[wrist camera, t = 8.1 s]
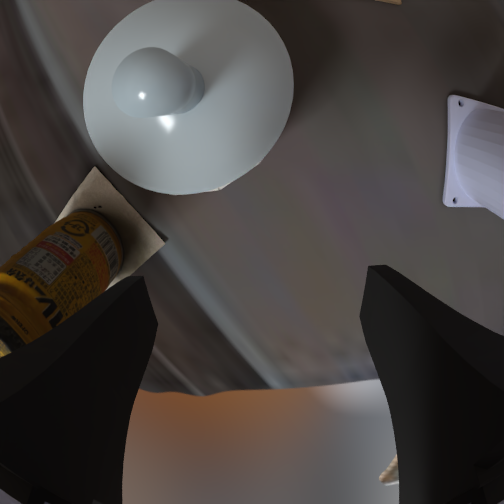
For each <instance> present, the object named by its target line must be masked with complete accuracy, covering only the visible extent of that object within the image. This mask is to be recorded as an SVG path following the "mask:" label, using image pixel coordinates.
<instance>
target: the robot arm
mask: <svg viewBox="0 0 504 504" xmlns="http://www.w3.org/2000/svg"><path fill="white" fill-rule="evenodd" d="M459 101H460V106H459V104H458V102H459ZM454 197H455V201H454V202H453V199H454ZM443 203H444V204H445V205H446V206H448V207H485V208H487V209H489V210H490V211H492V212H493V213H495V214H496V215H498V216H499V217H501V218H502V219H504V109H502V108H499V107H496V106H493V105H490V104H487V103H483V102H480V101H476V100H473V99H469V98H465V97H461V96H457V95H450V96H449V97H448V141H447V160H446V173H445V184H444V193H443ZM360 320H361V324H362V329H363V333H364V336H365V340H366V344H367V346H368V349H369V352H370V354H371V357H372V360H373V362H374V365H375V368H376V370H377V373H378V376H379V378H380V381H381V384H382V386H383V389H384V392H385V395H386V398H387V402H388V405H389V409H390V414H391V418H392V424H393V429H394V435H395V442H396V449H397V458H398V470H399V504H504V336H502V335H500V334H497V333H495V332H493V331H491V330H489V329H487V328H485V327H483V326H482V325H480V324H478V323H476V322H474V321H472V320H471V319H469V318H467V317H465V316H464V315H462V314H460V313H459V312H457V311H456V310H454V309H452V308H451V307H449V306H448V305H446V304H444V303H443V302H441V301H440V300H438V299H437V298H435V297H434V296H432V295H431V294H430V293H428V292H427V291H425V290H424V289H422V288H421V287H419V286H418V285H416V284H415V283H414V282H412V281H411V280H409V279H408V278H406V277H405V276H403V275H402V274H400V273H399V272H397V271H396V270H394V269H392V268H391V267H389V266H387V265H375V266H368V271H367V278H366V284H365V290H364V295H363V301H362V306H361V311H360ZM157 327H158V322H157V319H156V316H155V313H154V310H153V307H152V304H151V301H150V297H149V294H148V291H147V288H146V284H145V281H144V277H143V276H127V277H125V278H124V279H122V280H120V281H119V282H117V283H116V284H114V285H113V286H111V287H110V288H108V289H107V290H106V291H104V292H103V293H102V294H100V295H99V296H97V297H96V298H95V299H93V300H92V301H91V302H89V303H88V304H87V305H85V306H84V307H83V308H81V309H80V310H79V311H77V312H76V313H74V314H73V315H72V316H70V317H69V318H67V319H66V320H65V321H63V322H62V323H60V324H59V325H58V326H56V327H55V328H53V329H52V330H50V331H48V332H47V333H45V334H44V335H42V336H40V337H39V338H37V339H35V340H34V341H32V342H30V343H28V344H27V345H25V346H23V347H21V348H19V349H17V350H15V351H13V352H11V353H9V354H7V355H5V356H3V357H1V358H0V504H122V476H123V461H124V452H125V444H126V437H127V431H128V426H129V420H130V415H131V411H132V408H133V404H134V401H135V398H136V395H137V392H138V389H139V386H140V383H141V381H142V378H143V375H144V372H145V369H146V367H147V364H148V361H149V358H150V355H151V352H152V349H153V345H154V341H155V336H156V331H157Z"/></svg>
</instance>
